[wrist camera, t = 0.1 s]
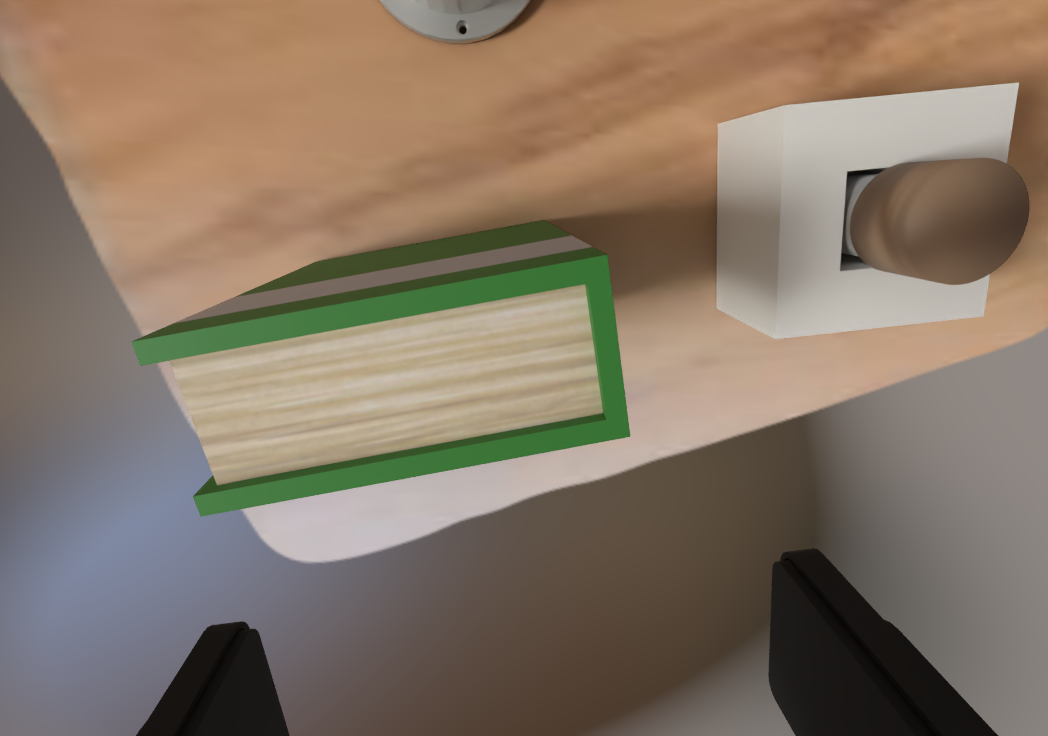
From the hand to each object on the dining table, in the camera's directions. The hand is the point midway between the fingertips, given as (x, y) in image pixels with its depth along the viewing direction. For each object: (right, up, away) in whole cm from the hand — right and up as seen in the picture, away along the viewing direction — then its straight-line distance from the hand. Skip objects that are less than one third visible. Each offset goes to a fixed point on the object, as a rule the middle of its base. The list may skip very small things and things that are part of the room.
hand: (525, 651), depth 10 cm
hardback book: (-7, +11, +35) cm, 37 cm away
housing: (+22, +17, +35) cm, 45 cm away
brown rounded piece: (+22, +17, +34) cm, 44 cm away
